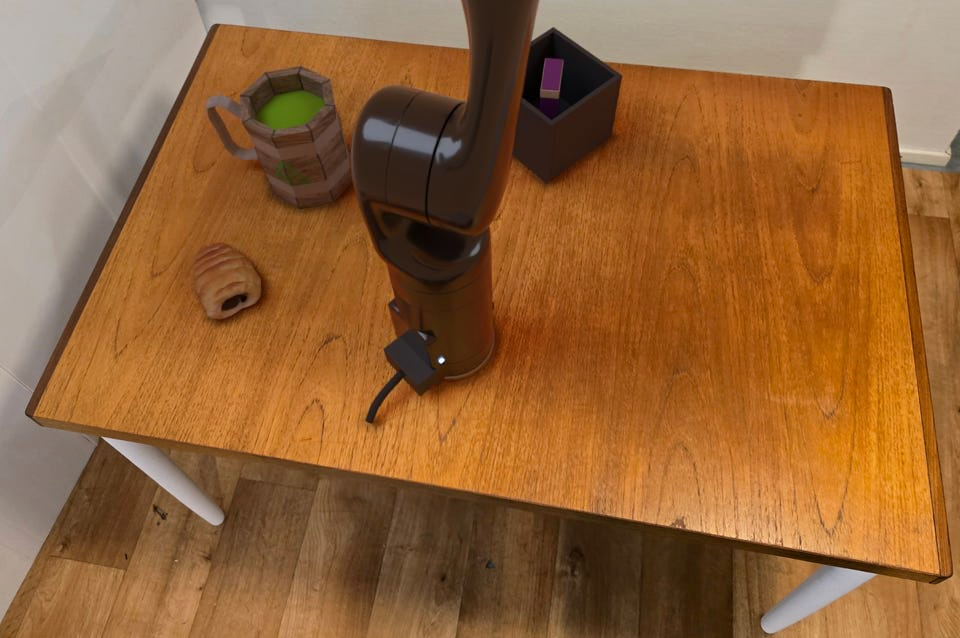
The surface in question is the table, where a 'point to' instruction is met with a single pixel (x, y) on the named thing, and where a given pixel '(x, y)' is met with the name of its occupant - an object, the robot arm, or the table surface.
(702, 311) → the table surface
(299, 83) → the mug
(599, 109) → the waste bin
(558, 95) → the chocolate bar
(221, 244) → the pastry
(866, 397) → the table surface
